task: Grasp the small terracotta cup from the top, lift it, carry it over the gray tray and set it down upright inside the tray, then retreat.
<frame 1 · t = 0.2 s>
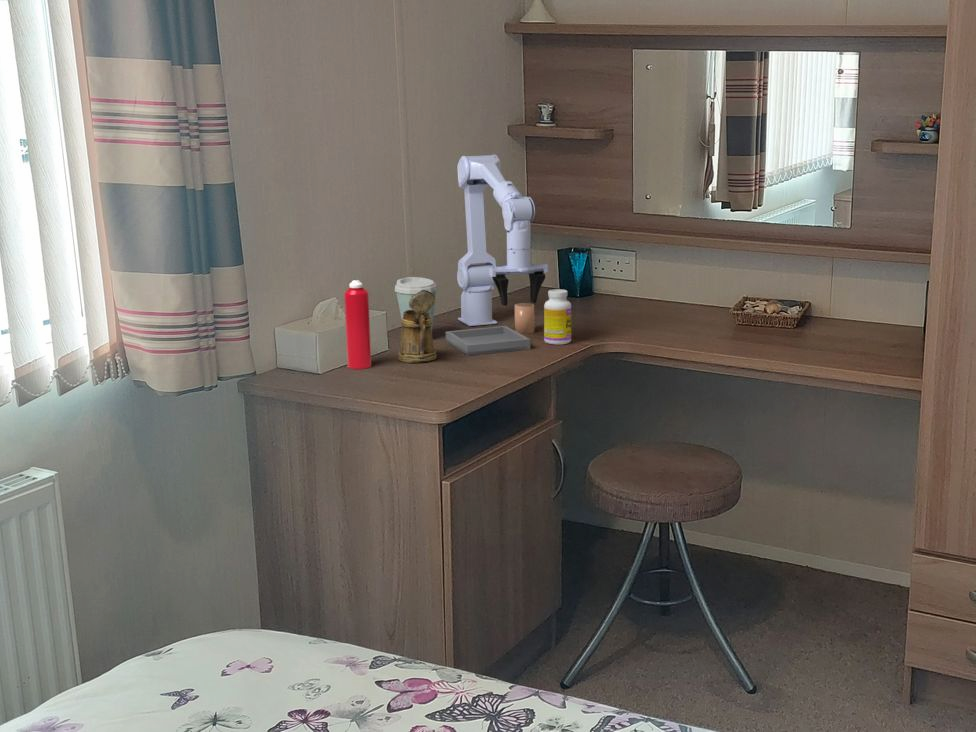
hand: (518, 303, 287), 10 cm above the table, tool pointing down, fingers open, 7 cm apart
gray tray: (487, 345, 287), on the table
supplement bottle: (557, 343, 290), on the table
wooden mug: (419, 361, 273), on the table
disposable coffee cup: (417, 339, 295), on the table
bottle: (359, 367, 270), on the table
terracotta cup: (524, 331, 301), on the table
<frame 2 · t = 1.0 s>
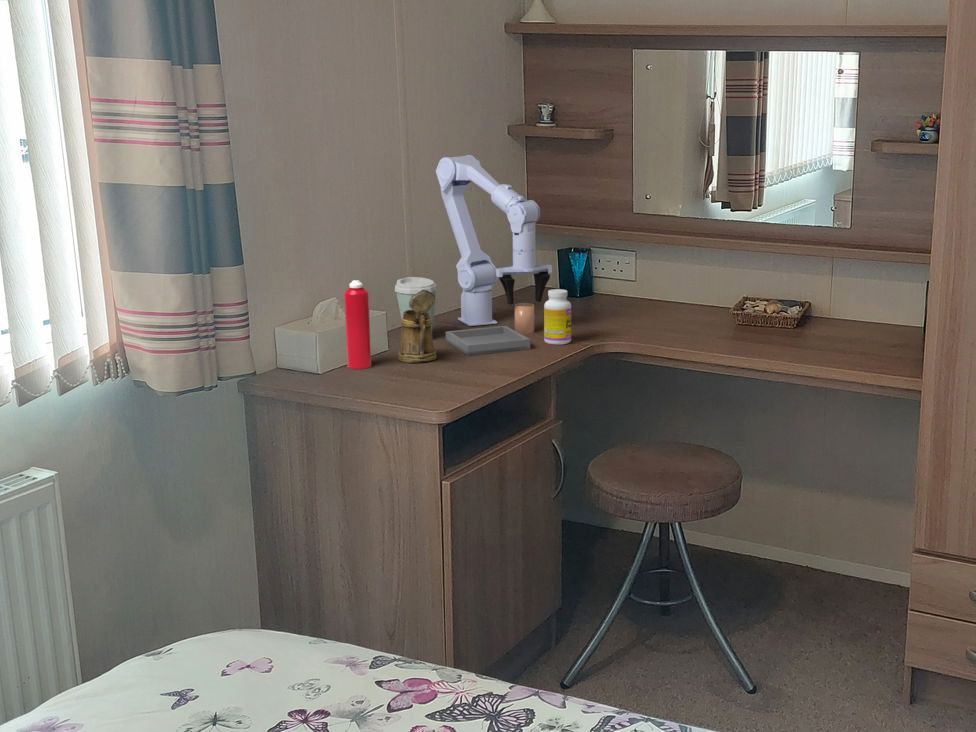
hand: (524, 302, 299), 8 cm above the table, tool pointing down, fingers open, 7 cm apart
nothing on the table moved.
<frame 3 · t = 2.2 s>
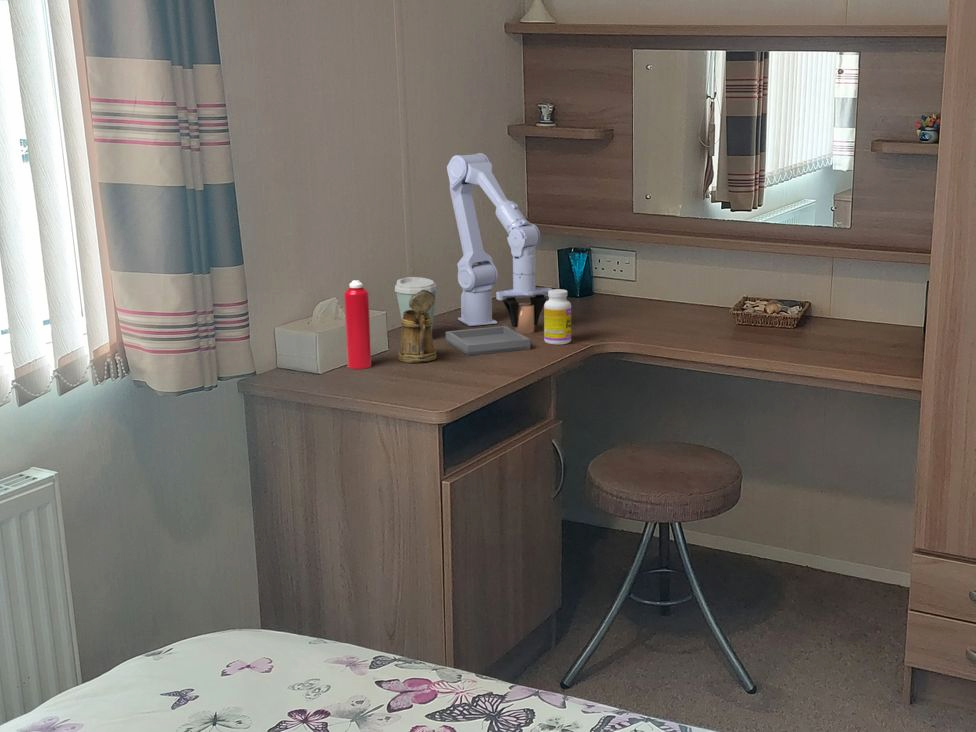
hand: (524, 325, 301), 2 cm above the table, tool pointing down, fingers closed on terracotta cup, 5 cm apart
terracotta cup: (524, 331, 301), on the table, touching gripper
everything else where it was.
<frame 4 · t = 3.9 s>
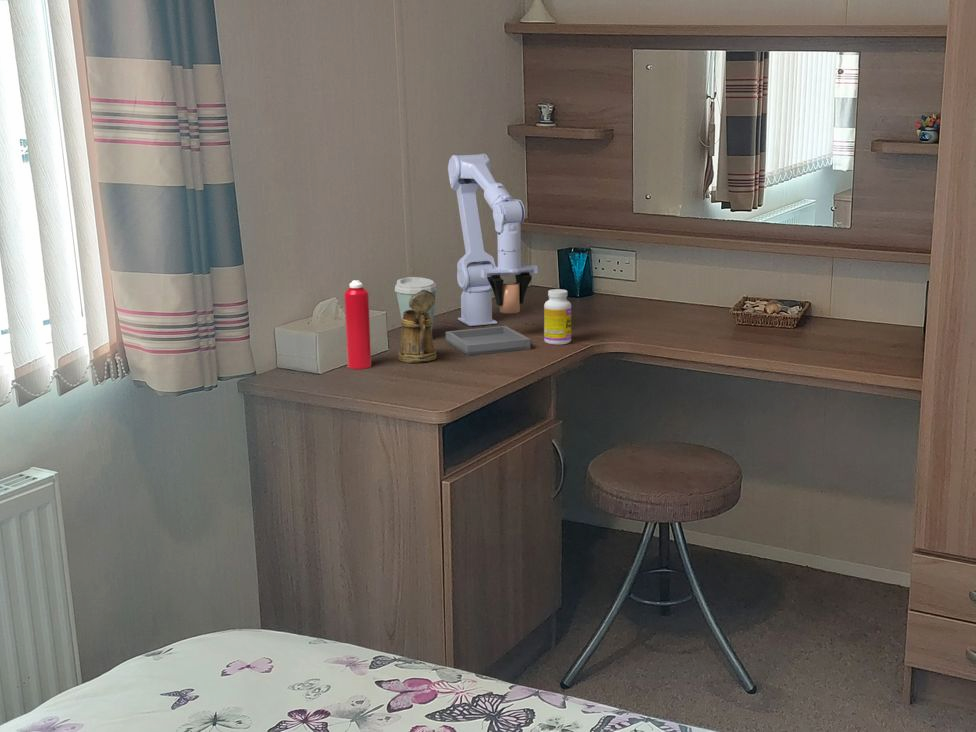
hand: (509, 304, 293), 8 cm above the table, tool pointing down, fingers closed on terracotta cup, 5 cm apart
terracotta cup: (509, 311, 294), point 7 cm above the table, touching gripper
everything else where it was.
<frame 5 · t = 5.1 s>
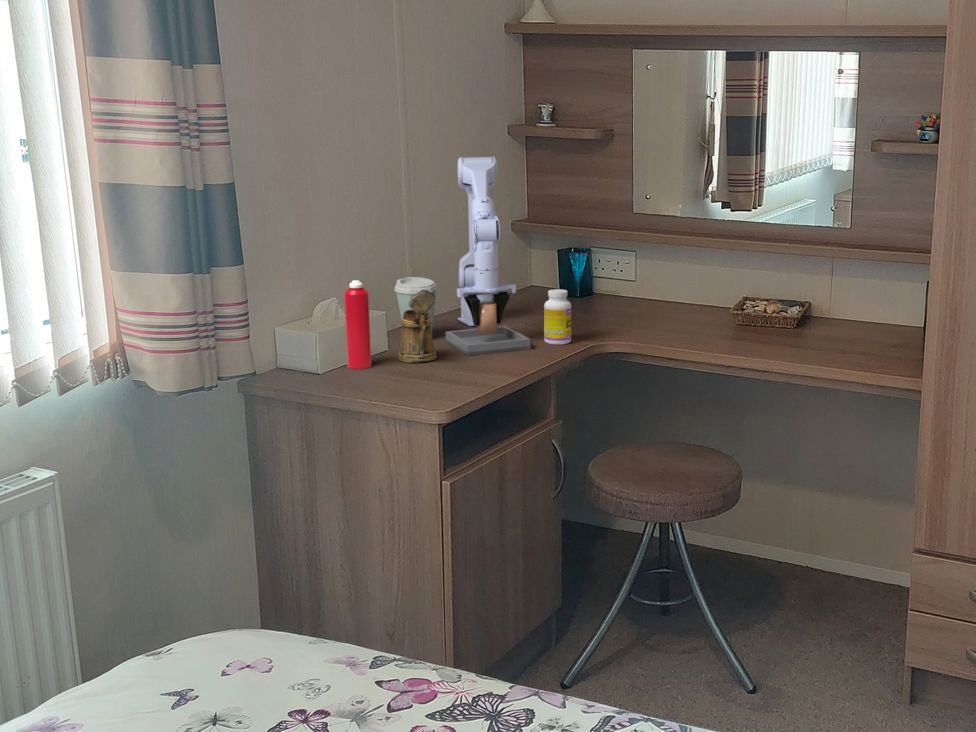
hand: (487, 324, 286), 5 cm above the table, tool pointing down, fingers closed on terracotta cup, 5 cm apart
terracotta cup: (486, 331, 287), point 3 cm above the table, touching gripper
everything else where it was.
when the fingers open (4 cm above the table, at t = 5.9 s): terracotta cup drops 1 cm, resting on gray tray.
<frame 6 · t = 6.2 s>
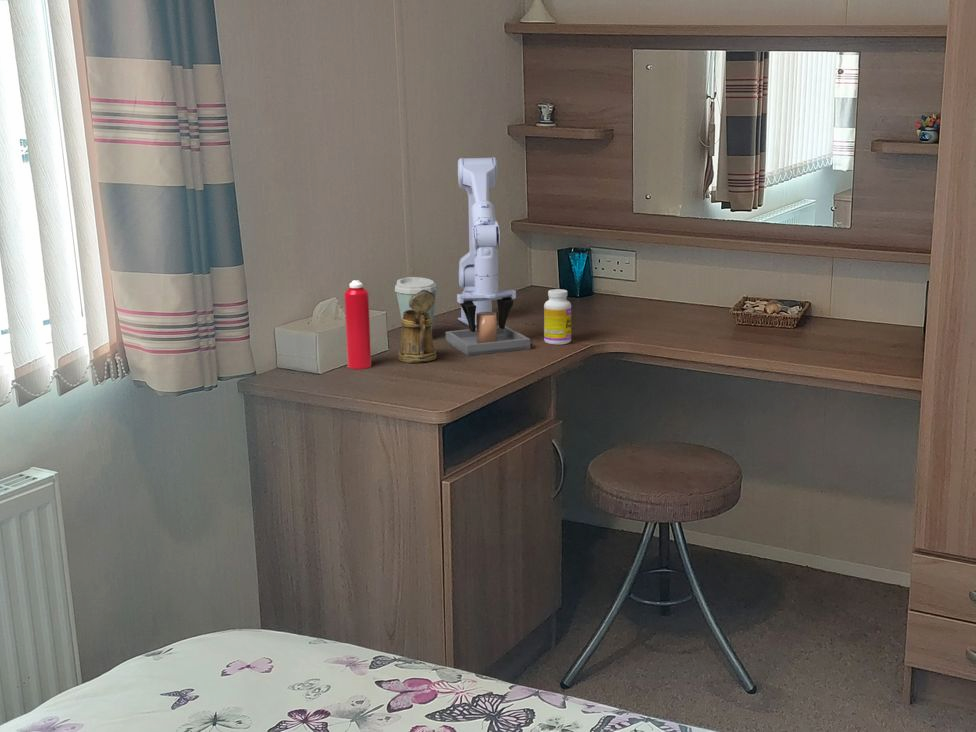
hand: (487, 329, 286), 4 cm above the table, tool pointing down, fingers open, 7 cm apart
terracotta cup: (486, 341, 287), point 1 cm above the table, touching gray tray
everything else where it was.
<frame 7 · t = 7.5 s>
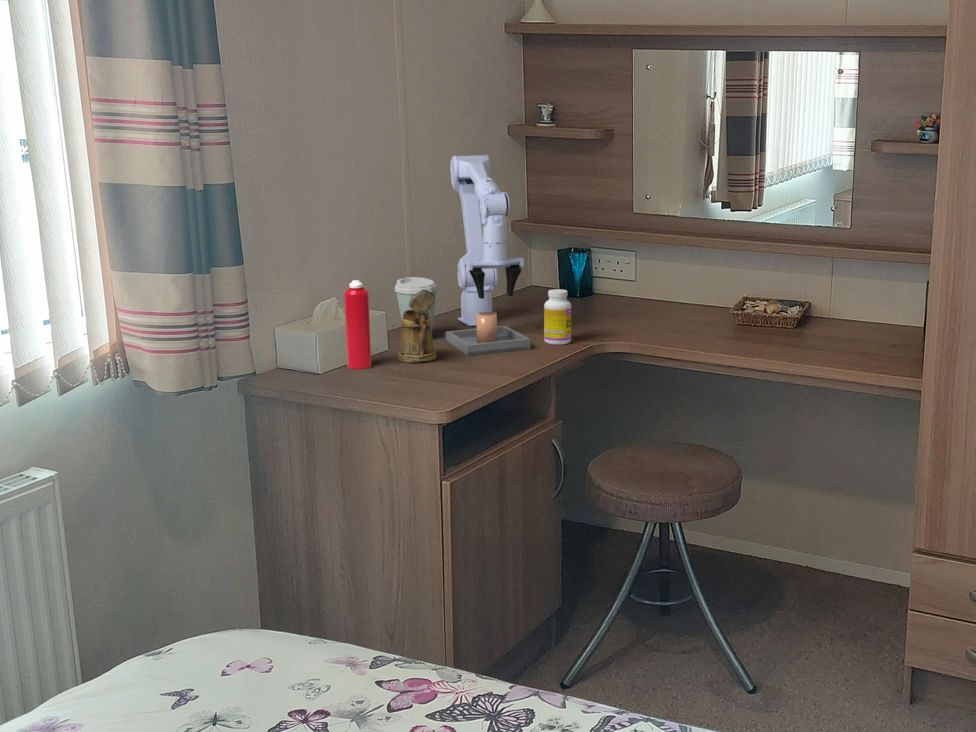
hand: (495, 296, 293), 10 cm above the table, tool pointing down, fingers open, 7 cm apart
nothing on the table moved.
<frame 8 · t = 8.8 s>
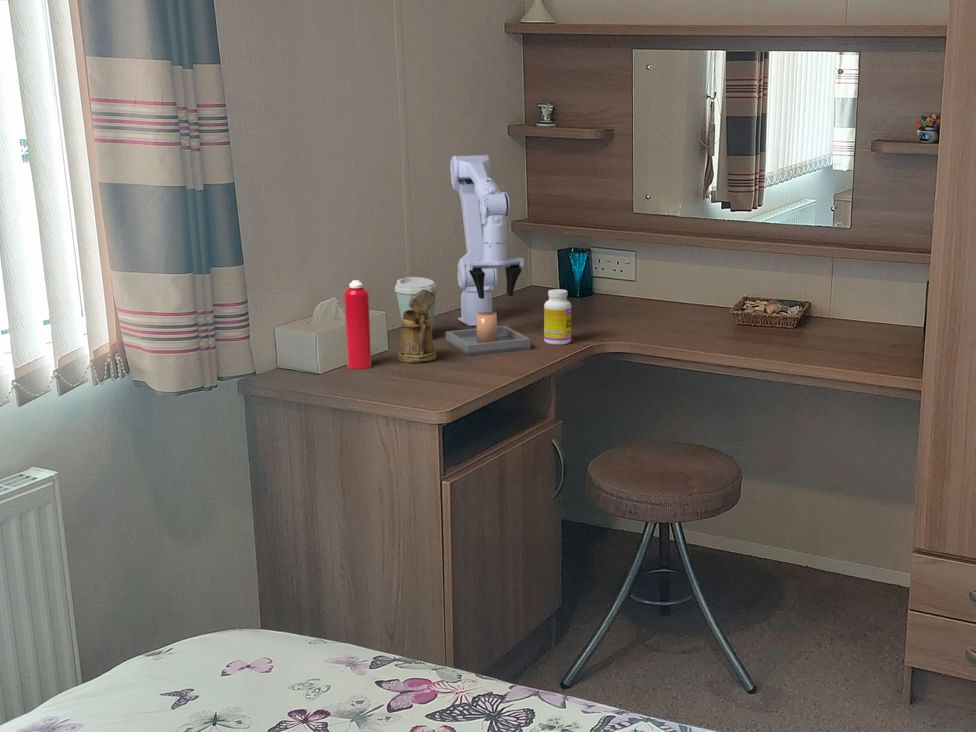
hand: (495, 296, 293), 10 cm above the table, tool pointing down, fingers open, 7 cm apart
nothing on the table moved.
at the end: terracotta cup inside the target area on the gray tray (0.3 cm from its centre), point 0.8 cm above the gray tray's base; terracotta cup tilted 0°; the gripper is holding nothing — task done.
